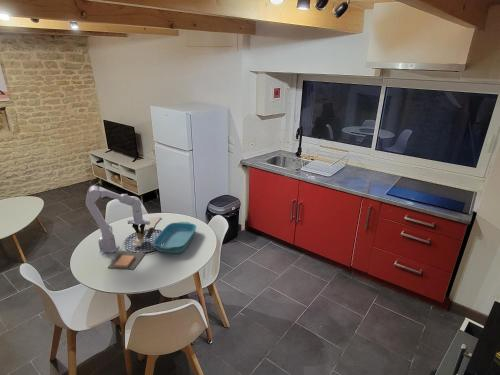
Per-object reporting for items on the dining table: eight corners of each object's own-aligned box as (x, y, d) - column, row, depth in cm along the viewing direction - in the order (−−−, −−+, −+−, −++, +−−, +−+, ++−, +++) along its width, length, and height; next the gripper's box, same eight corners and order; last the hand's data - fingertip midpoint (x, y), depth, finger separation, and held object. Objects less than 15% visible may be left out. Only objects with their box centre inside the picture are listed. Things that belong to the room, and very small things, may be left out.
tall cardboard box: (139, 234, 217) (137, 228, 215) (147, 234, 217) (146, 228, 214) (132, 245, 207) (130, 240, 205) (140, 246, 207) (139, 240, 204)
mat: (107, 268, 188) (107, 267, 187) (122, 251, 204) (121, 250, 204) (133, 269, 186) (133, 269, 186) (145, 253, 203) (145, 252, 203)
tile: (122, 257, 197) (114, 266, 188) (122, 255, 197) (114, 264, 187) (134, 258, 196) (127, 267, 187) (134, 255, 196) (127, 265, 187)
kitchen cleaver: (149, 217, 249) (161, 215, 249) (149, 219, 250) (161, 217, 249) (136, 237, 220) (150, 236, 220) (137, 239, 221) (151, 238, 220)
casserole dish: (171, 228, 234) (170, 219, 231) (200, 230, 231) (199, 221, 228) (149, 256, 200) (148, 246, 197) (183, 259, 197) (182, 249, 194)
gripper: (150, 213, 210) (153, 231, 215) (129, 212, 212) (132, 230, 216) (146, 218, 204) (148, 236, 209) (125, 217, 205) (128, 235, 210)
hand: (140, 233), depth 212 cm, fingers closed on tall cardboard box, 3 cm apart
